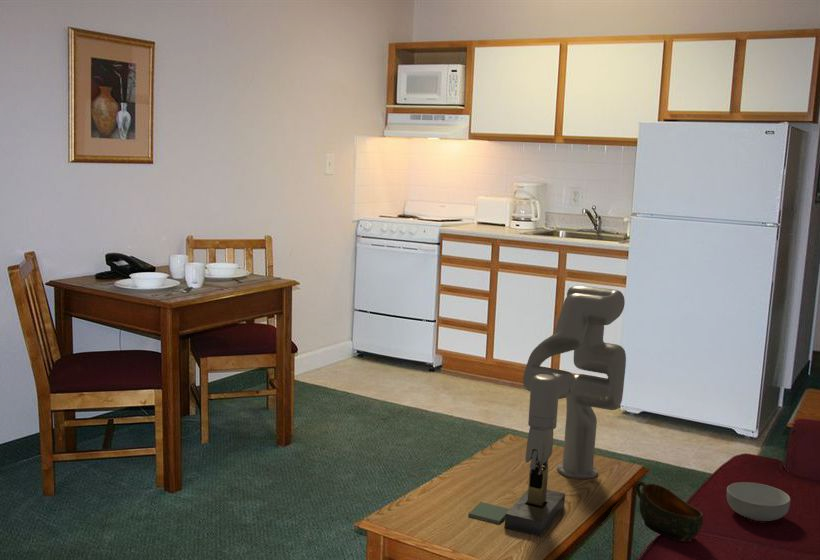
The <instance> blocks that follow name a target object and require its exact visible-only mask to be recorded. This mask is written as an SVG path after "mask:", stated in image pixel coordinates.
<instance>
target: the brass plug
mask: <svg viewBox="0 0 820 560" xmlns="http://www.w3.org/2000/svg"><path fill="white" fill-rule="evenodd" d="M536 467H538V469H539V466H538V465H536ZM530 470H531V469H530V468H529V471H530ZM541 474H542V487H541V489H538V488H533V487H530V472H529V477H528V488H527V490H528V502H527V503H529V504H533V505H537V506H542V505H543V504H544V503H545V502H546V493H547V490H548V477H549V466H548V467H547V466H543V465H542V471H541Z"/></svg>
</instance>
